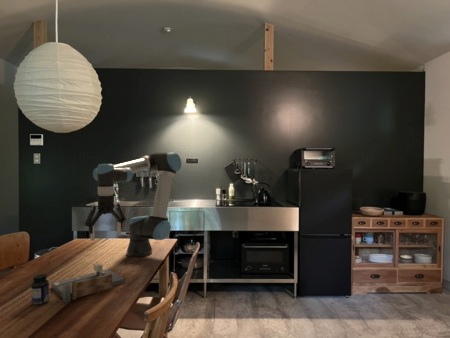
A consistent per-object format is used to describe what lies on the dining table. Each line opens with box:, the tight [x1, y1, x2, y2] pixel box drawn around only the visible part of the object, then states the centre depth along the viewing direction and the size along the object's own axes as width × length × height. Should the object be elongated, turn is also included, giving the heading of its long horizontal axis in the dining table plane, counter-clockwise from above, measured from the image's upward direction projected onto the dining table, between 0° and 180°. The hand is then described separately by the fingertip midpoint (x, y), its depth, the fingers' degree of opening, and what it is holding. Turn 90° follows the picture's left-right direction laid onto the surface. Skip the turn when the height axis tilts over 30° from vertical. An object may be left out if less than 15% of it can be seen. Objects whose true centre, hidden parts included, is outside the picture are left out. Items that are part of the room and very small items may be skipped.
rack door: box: [71, 274, 113, 301], centre depth 134 cm, size 17×2×7 cm, turn 135°
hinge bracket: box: [62, 283, 72, 304], centre depth 126 cm, size 2×3×7 cm, turn 45°
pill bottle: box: [30, 273, 50, 307], centre depth 125 cm, size 6×6×11 cm
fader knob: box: [93, 262, 104, 275], centre depth 150 cm, size 2×4×5 cm, turn 44°
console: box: [51, 268, 125, 299], centre depth 143 cm, size 26×18×3 cm
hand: (106, 237), depth 155 cm, fingers open, 13 cm apart
